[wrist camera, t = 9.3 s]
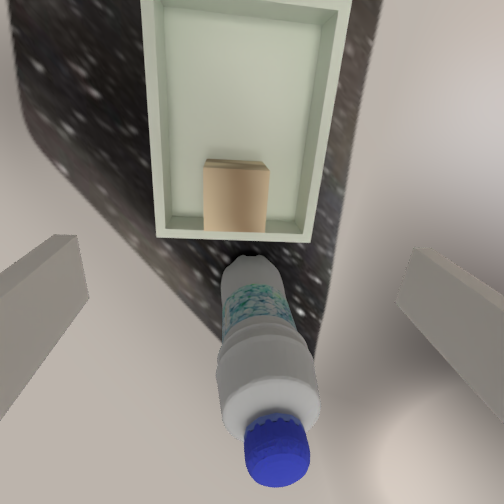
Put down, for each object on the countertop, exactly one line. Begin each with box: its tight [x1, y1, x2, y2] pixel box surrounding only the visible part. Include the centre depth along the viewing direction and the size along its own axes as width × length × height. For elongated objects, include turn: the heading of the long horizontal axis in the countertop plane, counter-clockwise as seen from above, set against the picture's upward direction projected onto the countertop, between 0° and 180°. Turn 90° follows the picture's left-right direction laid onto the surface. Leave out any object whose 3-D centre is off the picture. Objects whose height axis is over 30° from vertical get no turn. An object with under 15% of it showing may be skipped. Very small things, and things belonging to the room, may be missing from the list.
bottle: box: [216, 255, 321, 487], centre depth 23 cm, size 7×7×20 cm
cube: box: [203, 159, 270, 233], centre depth 25 cm, size 5×5×5 cm
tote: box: [140, 0, 352, 243], centre depth 24 cm, size 18×14×4 cm
